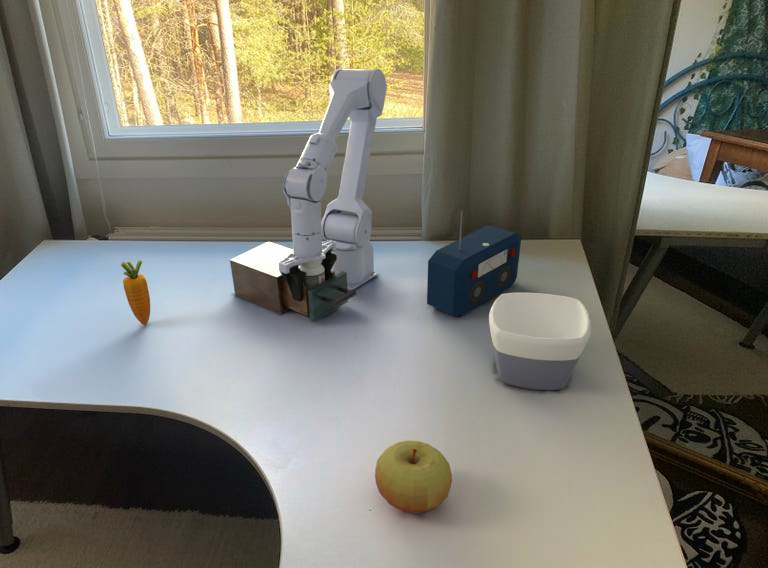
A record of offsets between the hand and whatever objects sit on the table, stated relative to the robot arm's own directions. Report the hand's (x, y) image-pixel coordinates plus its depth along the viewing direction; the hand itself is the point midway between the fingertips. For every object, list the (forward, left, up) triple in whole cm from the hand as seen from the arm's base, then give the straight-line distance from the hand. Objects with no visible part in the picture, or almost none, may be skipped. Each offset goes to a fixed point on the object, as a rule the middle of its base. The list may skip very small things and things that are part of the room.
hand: (310, 293), depth 128 cm
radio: (-24, +23, -4) cm, 34 cm away
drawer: (-1, 0, -3) cm, 4 cm away
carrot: (+25, -25, -4) cm, 35 cm away
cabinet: (-1, -12, -4) cm, 12 cm away
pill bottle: (0, 0, -2) cm, 2 cm away
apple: (+29, +45, -4) cm, 54 cm away
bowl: (-7, +44, -4) cm, 45 cm away
